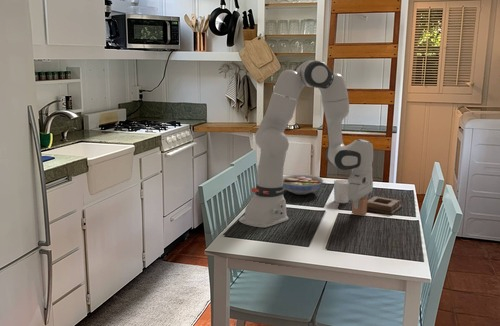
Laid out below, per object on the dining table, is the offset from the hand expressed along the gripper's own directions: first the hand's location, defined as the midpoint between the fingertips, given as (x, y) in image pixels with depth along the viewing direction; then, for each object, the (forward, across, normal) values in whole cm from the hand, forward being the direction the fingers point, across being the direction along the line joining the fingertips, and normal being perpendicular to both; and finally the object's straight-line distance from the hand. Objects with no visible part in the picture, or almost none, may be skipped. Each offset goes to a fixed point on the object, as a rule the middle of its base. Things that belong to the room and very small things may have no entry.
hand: (360, 205), depth 213 cm
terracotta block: (+4, 0, 0) cm, 4 cm away
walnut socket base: (+4, -13, +6) cm, 14 cm away
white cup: (+4, -12, -14) cm, 19 cm away
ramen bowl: (+3, -13, -37) cm, 39 cm away
